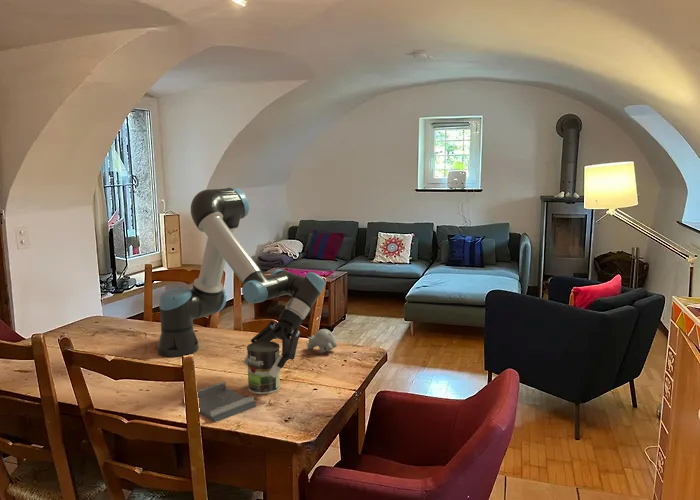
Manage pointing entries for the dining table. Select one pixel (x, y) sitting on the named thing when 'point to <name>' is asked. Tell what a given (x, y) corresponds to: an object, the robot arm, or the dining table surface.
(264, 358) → the coffee can
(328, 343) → the round bodied animal figurine
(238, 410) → the plate
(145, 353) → the dining table surface
